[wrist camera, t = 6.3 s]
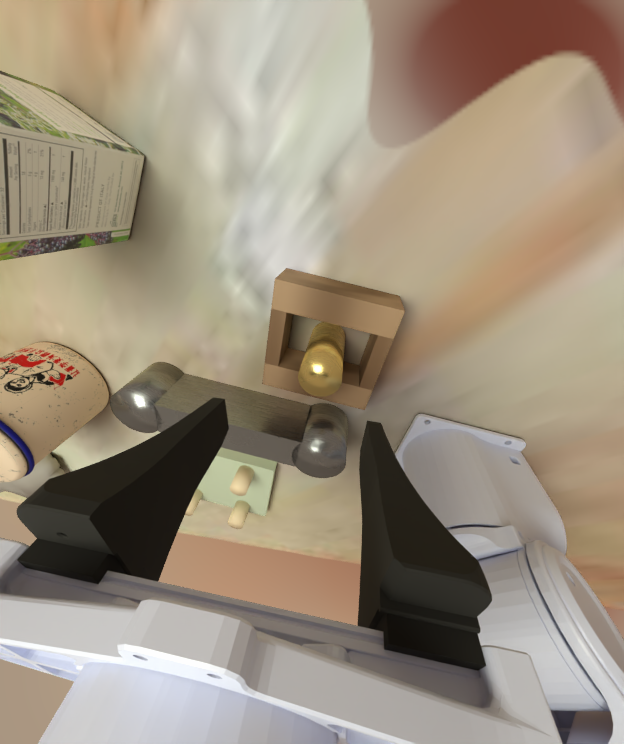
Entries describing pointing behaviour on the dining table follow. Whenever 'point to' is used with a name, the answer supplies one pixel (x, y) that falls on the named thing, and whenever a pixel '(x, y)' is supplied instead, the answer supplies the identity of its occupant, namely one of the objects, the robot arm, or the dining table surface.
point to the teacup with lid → (43, 403)
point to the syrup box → (60, 174)
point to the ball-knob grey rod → (239, 418)
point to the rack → (237, 485)
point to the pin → (323, 360)
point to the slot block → (334, 307)
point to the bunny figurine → (34, 477)
